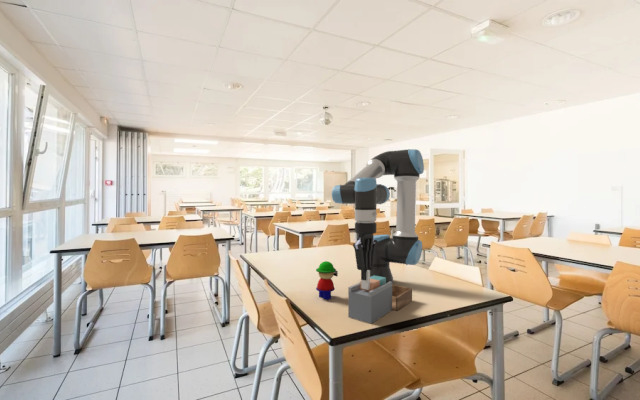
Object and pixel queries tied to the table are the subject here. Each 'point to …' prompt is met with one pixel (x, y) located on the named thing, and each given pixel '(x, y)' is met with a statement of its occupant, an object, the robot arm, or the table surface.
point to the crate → (400, 297)
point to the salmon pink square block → (372, 284)
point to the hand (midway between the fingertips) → (365, 288)
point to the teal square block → (382, 279)
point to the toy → (326, 279)
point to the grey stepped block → (369, 302)
